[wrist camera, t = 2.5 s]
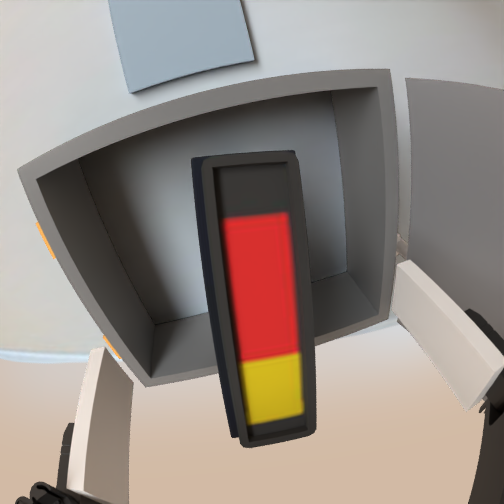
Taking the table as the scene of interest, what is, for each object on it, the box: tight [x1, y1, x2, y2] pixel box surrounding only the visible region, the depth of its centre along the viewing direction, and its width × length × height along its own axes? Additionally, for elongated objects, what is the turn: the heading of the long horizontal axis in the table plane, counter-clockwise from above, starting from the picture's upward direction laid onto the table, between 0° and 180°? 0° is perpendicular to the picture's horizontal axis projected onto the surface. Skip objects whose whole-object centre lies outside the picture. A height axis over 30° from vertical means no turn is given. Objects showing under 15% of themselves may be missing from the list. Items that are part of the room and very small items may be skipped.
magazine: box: [191, 150, 316, 448], centre depth 17 cm, size 4×13×15 cm, turn 2°
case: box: [17, 69, 408, 387], centre depth 15 cm, size 18×25×16 cm
